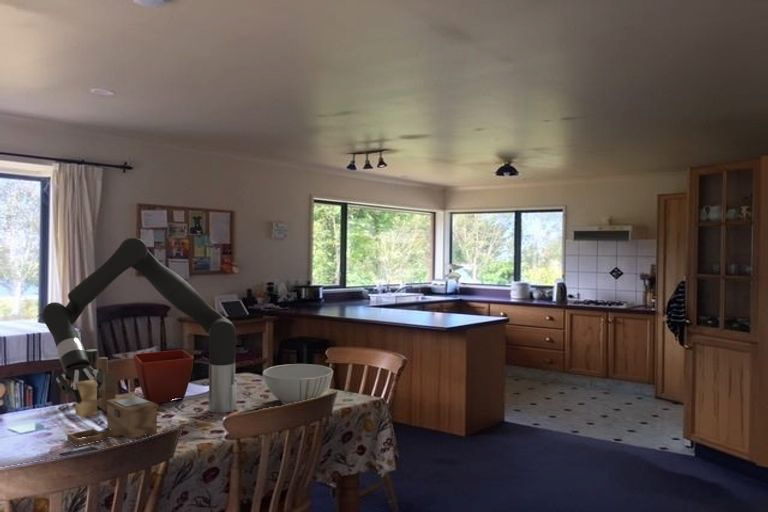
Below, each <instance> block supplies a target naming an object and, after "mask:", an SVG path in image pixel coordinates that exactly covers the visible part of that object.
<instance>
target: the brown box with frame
mask: <svg viewBox="0 0 768 512" xmlns="http://www.w3.org/2000/svg"><path fill="white" fill-rule="evenodd" d="M106 404H107V412H106V417H107V418H106V419H107V420H106V426H107V429H108V428H109V429H108V430H107V429H106V430H103V431H98V430H96V429H95V428H90V429H87V430H83V431H82V430H81V431H77V432H74V433H67V435H66V436H67V439H66V440H68V441H70V442H72V443H73V444H75V445H77V446H79V445H83V444H88V443H92V442H96V441H101V440H104V441H105V439H104V438H108V437H112V438H115V437H114V436H116V437H120V436H119V435H121V436H122V435H123V436H122V437H124V436H125V437H124V438H126V437H127V438H126V439H128V440H132V439H131V438H133V439H136V438H135V437H137V438H141V437H144V436H143V435H145V434H150V435H153V434H156V433H158V429H157V428H158V414H157V413H158V409H159V403H153V402H151V401H148V400H146V399H145V398H143V397H141V396H139V395H135V394H133V395H128V396H122V397H117V398H116V397H115V399H110V400H106ZM110 429H111V430H110ZM88 436H91V437H88ZM140 436H141V437H140ZM145 436H146V435H145ZM82 437H87V438H82ZM78 438H82V439H78ZM108 439H109V438H108ZM68 441H67V442H68ZM70 442H69V443H70ZM101 442H102V441H101ZM72 443H71V444H72ZM73 444H72V445H73ZM75 445H74V446H75ZM88 445H89V444H88ZM77 446H76V447H77Z"/></svg>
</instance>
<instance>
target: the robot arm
mask: <svg viewBox="0 0 768 512" xmlns="http://www.w3.org/2000/svg"><path fill="white" fill-rule="evenodd" d="M130 268H132V269H134V270H135V271H136V272H137V273H139V274H140V275H142V276H143V277H144V278H145V279H146V280H147V281H148V282H149V283H150V284H151V286H153V287H154V289H155V290H156V291H157V292H158V293H159V294H160V295H161V296H162V297H163V298H164V299H165V300H166V301H168V303H170V305H172V306H173V307H174V308H176V309H177V310H178V311H180V312H182V313H183V314H184V315H186V316H188V317H190V318H191V319H192V320H194V321H196V323H197V324H199V326H200V327H201V328H202V329H203V330H204V331H205V332H206V333H207V334H208V335H209V336H208V337H209V338H208V339H209V346H208V347H209V350H208V351H209V352H208V353H209V355H208V356H209V357H208V364H209V365H208V411H209V412H211V413H215V414H221V413H222V414H224V413H232V412H235V411H234V410H236V409H237V403H238V402H237V400H238V399H237V389H238V388H237V385H238V384H237V383H238V382H236V355H237V354H236V352H237V331H236V327H235V326H234V325H235V324H233V322H232V321H231V320H230V319H228V318H227V317H225V316H223V315H222V314H221V313H220V312H218V311H217V310H216V309H214V308H213V307H212V306H211V305H209V303H208V302H207V301H206V300H205V299H204V297H203V296H202V295H201V294H200V293H199V292H198V291H197V290H196V289H195V288H194V287H193V286H191V284H189V282H188V281H186V280H185V279H184V278H183V277H181V276H180V275H179V274H178V273H177V272H175V271H174V270H172V269H170V268H169V267H167V266H166V265H164V264H162V263H161V262H160V261H159V260H158V259H157V258H156V257H155V256H154V255H153V253H151V252H150V251H149V249H148V247H147V244H146V243H145V241H143V240H142V239H141V238H138V237H129V238H125V239H124V240H123V241H122V242H121V243H120V244H119V247H118V248H117V249H116V250H115V251H114V253H113V254H112V255H111V256H110V257H109V258H108V259H107V260H106V261H105V262H104V263H103V264H102V265H101V266H99V267H98V268H97V269H96V270H94V272H92V273H91V274H90V275H88V276H87V277H85V278H84V279H83V280H82V281H81V282H80V283H78V284H77V285H76V286H75V287H74V288H73V289H71V290H70V292H69V293H68V294H67V298H68V300H69V301H68V303H67V305H64V304H62V303H60V302H55V301H53V302H50V303H48V304H46V305H45V307H43V310H42V320H43V322H44V324H45V325H46V327H47V329H48V331H49V333H50V334H51V336H52V338H53V342H54V344H55V346H56V350H57V356H58V359H59V361H60V364H61V367H62V370H63V372H64V373H63V374H59V373H58V374H57V376H56V379H55V382H56V383H57V385H58V386H59V387H60V389H61V391H63V393H64V394H67V395H68V394H71V395H72V398H73V400H74V402H77V404H80V403H81V401H82V398H81V396H80V393H79V390H77V384H76V383H78V382H79V381H85V380H93V381H95V380H94V378H93V376H92V373H93V374H94V375H95V377H97V400H98V399H99V397H100V392H99V389H98V388H100V387H101V385H102V383H103V369H102V368H99V369H98V370H96V369H93V368H92V367H91V366H90V363H89V360H88V357H87V355H86V350H85V348H84V345H83V343H82V341H81V339H80V336H79V334H78V331H77V330H76V328H75V327H74V326H73V325H74V324H75V322H76V321H78V318H79V317H80V316H81V315H82V313H83V312H84V310H85V308H86V307H87V306H89V305H90V304H91V303H92V302H93V301H94V300H95V299H96V298H97V297H99V296H100V294H102V293H103V292H104V291H105V290H106V289H107V288H108V287H109V286H110V284H112V283H113V282H114V281H116V279H117V278H118V277H119V276H120V275H122V274H124V272H126V271H127V270H128V269H130ZM67 381H69V382H71V384H70V385H69V383H68V382H67Z"/></svg>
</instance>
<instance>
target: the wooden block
mask: <svg viewBox="0 0 768 512" xmlns="http://www.w3.org/2000/svg"><path fill="white" fill-rule="evenodd" d="M99 368H102V369H103V383H102V385H101V387H100V388H98V389H99V392H100V397H99V399H98V400H97V408H100V409H101V410H103V411H104V412H106V413H107V404H106V400H110V399H116V371H110V372H109V358H108V357H106V356H102V357H101V356H100V357H97V370H98V369H99Z"/></svg>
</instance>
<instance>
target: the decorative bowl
mask: <svg viewBox="0 0 768 512" xmlns="http://www.w3.org/2000/svg"><path fill="white" fill-rule="evenodd" d="M333 375H334V370H333V369H332V368H331V367H329V366H325V365H321V364H308V363H293V364H289V363H288V364H282V365H281V364H280V365H274V366H271V367H268V368H266V369H263V371H262V378H263V379H264V383H265V384H266V385H265V386H266V387H267V389H268V390H269V392H270V393H271V394H272V395H273V396H274V397H275V398H276V399H278V400H279V401H281V404H282V405H284V404H289V403H294V402H299V401H303V400H307V399H311V398H316V397H318V398H320V397H321V396H322V394H323V393H324V392H326V390H327V388H328V387H329V385H330V383H331V381H332V378H333Z"/></svg>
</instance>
